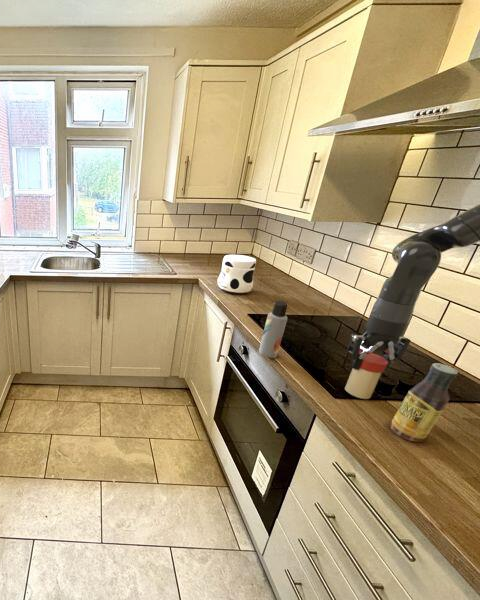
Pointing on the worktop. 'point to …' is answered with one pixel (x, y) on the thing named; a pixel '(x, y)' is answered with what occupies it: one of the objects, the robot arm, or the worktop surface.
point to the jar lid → (374, 363)
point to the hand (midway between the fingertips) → (367, 368)
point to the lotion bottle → (274, 330)
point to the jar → (362, 383)
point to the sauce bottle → (424, 404)
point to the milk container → (237, 274)
